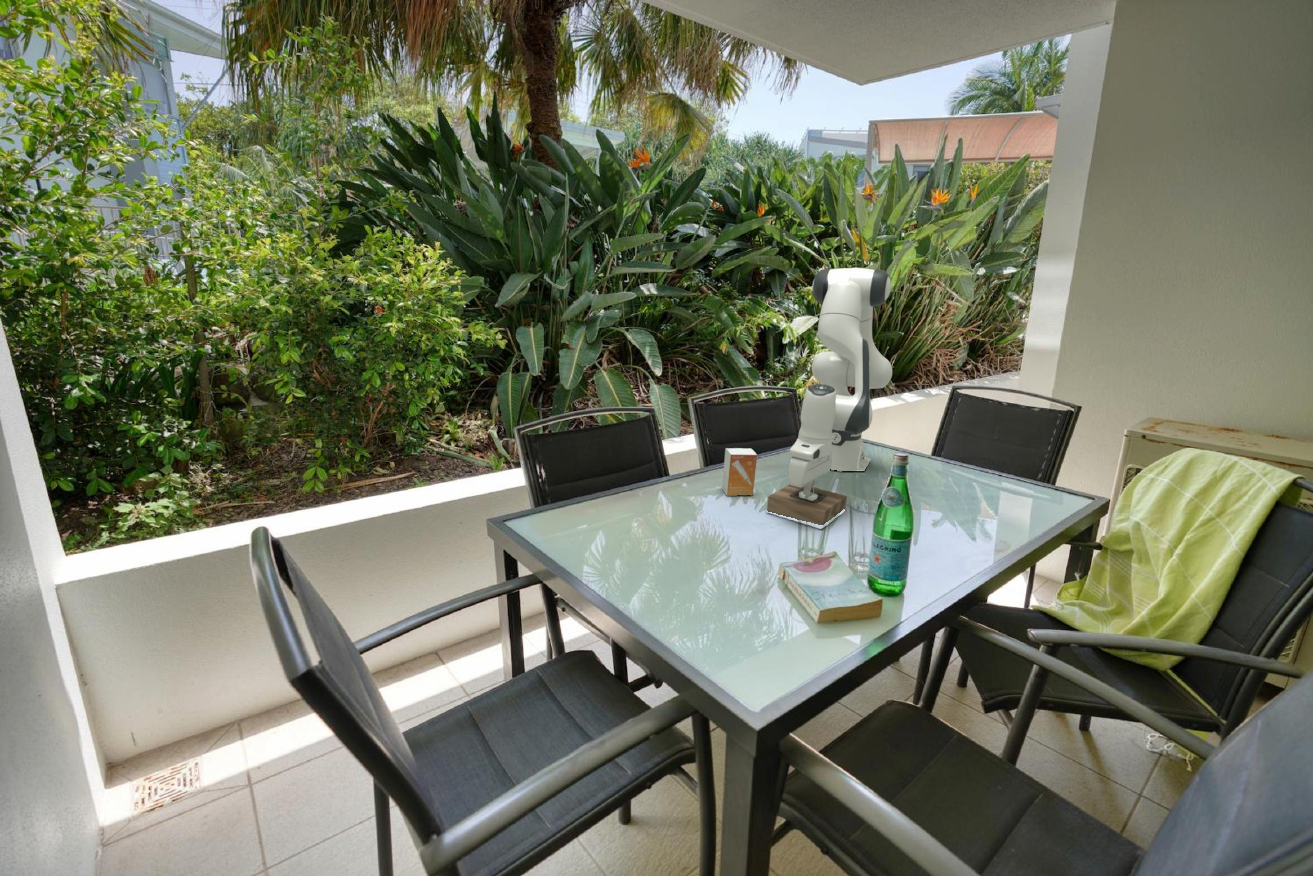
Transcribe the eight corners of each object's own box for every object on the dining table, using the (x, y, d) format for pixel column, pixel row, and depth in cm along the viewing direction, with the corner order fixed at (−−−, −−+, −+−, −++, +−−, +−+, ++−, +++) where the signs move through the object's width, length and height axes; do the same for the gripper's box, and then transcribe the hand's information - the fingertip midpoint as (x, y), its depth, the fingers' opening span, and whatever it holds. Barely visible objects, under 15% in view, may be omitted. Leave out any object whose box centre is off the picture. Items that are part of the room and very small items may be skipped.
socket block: (792, 497, 181) (794, 481, 180) (844, 512, 172) (847, 495, 171) (766, 513, 169) (768, 495, 167) (821, 530, 160) (824, 511, 158)
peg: (802, 504, 174) (803, 489, 172) (818, 509, 171) (820, 494, 169) (794, 509, 170) (796, 494, 168) (811, 514, 167) (813, 498, 166)
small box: (726, 496, 180) (730, 454, 176) (721, 488, 186) (725, 447, 182) (753, 496, 181) (757, 454, 177) (747, 488, 187) (751, 447, 183)
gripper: (818, 436, 175) (813, 482, 179) (786, 450, 159) (781, 500, 163) (840, 440, 171) (834, 487, 175) (809, 456, 155) (803, 507, 159)
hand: (808, 494), depth 169 cm, fingers closed, pressing on peg
